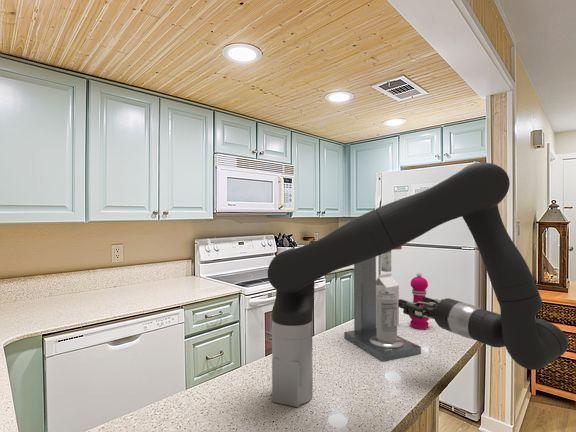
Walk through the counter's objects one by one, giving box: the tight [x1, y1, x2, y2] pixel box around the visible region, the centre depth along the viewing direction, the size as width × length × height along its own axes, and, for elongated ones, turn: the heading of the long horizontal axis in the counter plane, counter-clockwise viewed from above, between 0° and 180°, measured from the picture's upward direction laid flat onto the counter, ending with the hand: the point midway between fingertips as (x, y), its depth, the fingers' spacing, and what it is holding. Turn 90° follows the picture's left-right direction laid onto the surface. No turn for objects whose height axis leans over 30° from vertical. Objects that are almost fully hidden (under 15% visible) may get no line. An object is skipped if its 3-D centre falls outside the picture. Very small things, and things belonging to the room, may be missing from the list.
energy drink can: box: [376, 290, 398, 344], centre depth 104 cm, size 6×6×15 cm
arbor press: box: [343, 245, 422, 362], centre depth 109 cm, size 20×22×34 cm
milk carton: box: [376, 272, 400, 326], centre depth 128 cm, size 7×7×19 cm
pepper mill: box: [408, 272, 430, 330], centre depth 125 cm, size 7×7×20 cm
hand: (411, 301), depth 94 cm, fingers open, 8 cm apart
